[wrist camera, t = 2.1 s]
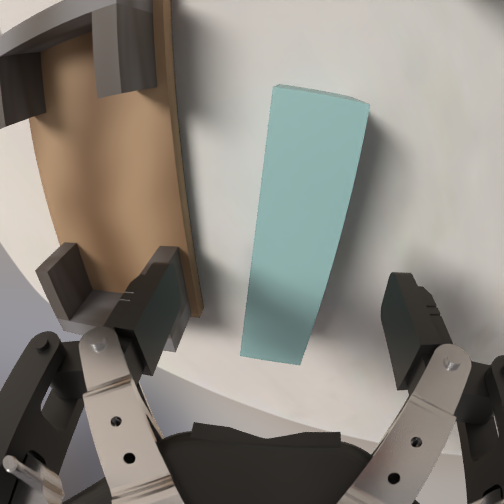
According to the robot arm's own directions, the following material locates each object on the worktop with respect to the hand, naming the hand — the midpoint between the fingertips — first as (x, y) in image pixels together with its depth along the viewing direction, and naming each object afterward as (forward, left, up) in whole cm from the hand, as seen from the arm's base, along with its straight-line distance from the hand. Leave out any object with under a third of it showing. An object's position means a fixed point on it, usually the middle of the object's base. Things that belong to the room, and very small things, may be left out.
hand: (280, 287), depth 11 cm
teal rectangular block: (0, 0, -7) cm, 7 cm away
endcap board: (+11, -3, -7) cm, 13 cm away
